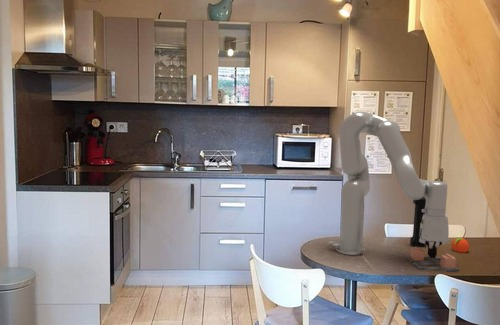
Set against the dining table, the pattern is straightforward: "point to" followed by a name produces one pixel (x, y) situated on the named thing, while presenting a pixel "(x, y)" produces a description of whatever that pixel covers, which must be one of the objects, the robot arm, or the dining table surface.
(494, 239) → the dining table surface
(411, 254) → the tab far
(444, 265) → the pink block
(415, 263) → the switch board
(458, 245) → the clementine
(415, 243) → the portable radio
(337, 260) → the dining table surface
